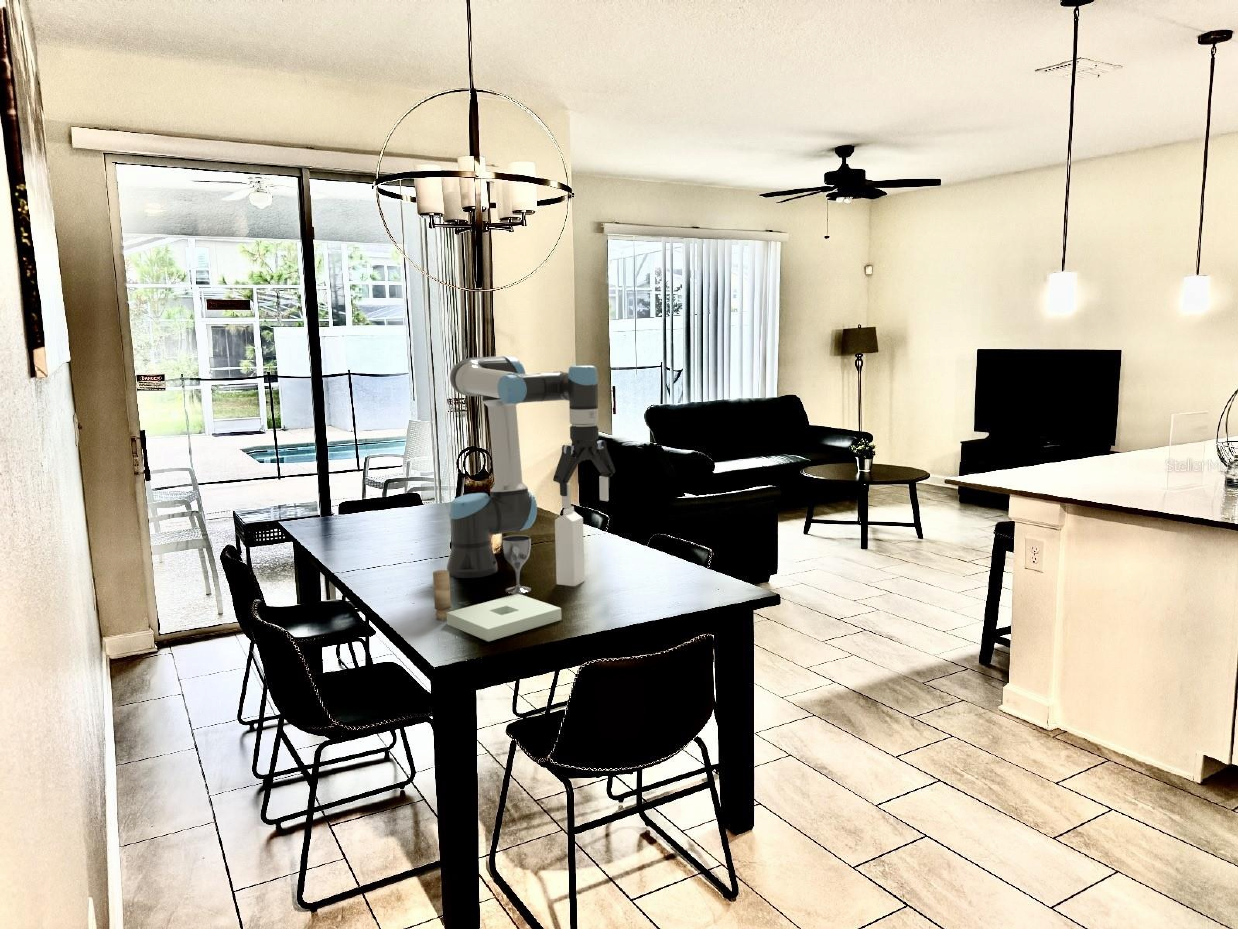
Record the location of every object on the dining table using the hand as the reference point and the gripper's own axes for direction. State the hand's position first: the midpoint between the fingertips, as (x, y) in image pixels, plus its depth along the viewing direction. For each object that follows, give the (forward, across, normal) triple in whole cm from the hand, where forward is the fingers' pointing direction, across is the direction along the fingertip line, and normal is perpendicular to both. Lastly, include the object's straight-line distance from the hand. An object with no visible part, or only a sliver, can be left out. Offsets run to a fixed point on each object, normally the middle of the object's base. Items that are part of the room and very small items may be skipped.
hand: (585, 504), depth 234 cm
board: (+26, -27, +1) cm, 38 cm away
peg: (+26, -36, +15) cm, 47 cm away
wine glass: (+26, -8, +20) cm, 34 cm away
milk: (+26, +7, +15) cm, 31 cm away
